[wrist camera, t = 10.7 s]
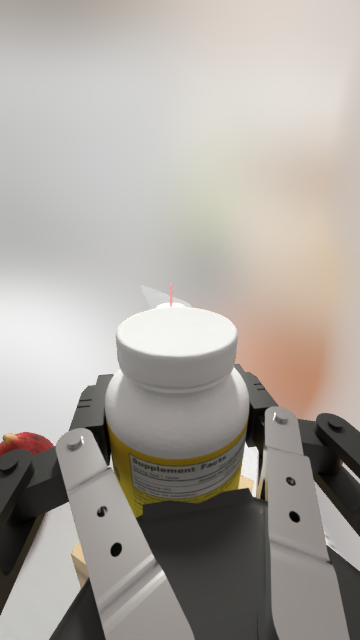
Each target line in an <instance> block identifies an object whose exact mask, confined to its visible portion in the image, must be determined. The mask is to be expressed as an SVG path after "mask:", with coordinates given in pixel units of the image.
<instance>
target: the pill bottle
mask: <svg viewBox="0 0 360 640" xmlns="http://www.w3.org/2000/svg"><path fill="white" fill-rule="evenodd" d="M237 339H238V333H237V330H236V327H235V326H234V325H233V323H232V322H231V321H230V320H228V319H227V318H225V317H223V316H221V315H219V314H217V313H214V312H211V311H207V310H203V309H197V308H189V307H166V308H158V309H152V310H148V311H144V312H141V313H138V314H135V315H133V316H131V317H129V318H128V319H126V320H125V321H124V322H122V323H121V324H120V326H119V327H118V329H117V332H116V342H117V343H116V344H117V356H118V362H119V365H120V368H119V370H118V371H117V372H116V373H115V374H114V376H113V377H112V379H111V381H110V383H109V385H108V388H107V391H106V395H105V416H106V422H107V429H108V435H109V442H110V448H111V455H112V461H113V468H114V474H115V476H116V478H117V480H118V482H119V484H120V486H121V489H122V491H123V493H124V495H125V497H126V499H127V501H128V503H129V505H130V508H131V510H132V512H133V514H134V516H135V518H137V517H139V516H141V515H143V504H150V503H156V502H162V501H168V500H172V501H180V502H189V503H202V502H204V501H206V500H208V499H210V498H212V497H214V496H216V495H218V494H220V493H222V492H224V491H231V490H237V489H238V487H239V481H240V474H241V467H242V459H243V452H244V445H245V438H246V432H247V424H248V417H249V394H248V390H247V387H246V384H245V382H244V380H243V378H242V376H241V375H240V374H239V372H238V371H237V370H236V369H235V368H234V363H235V358H236V348H237Z"/></svg>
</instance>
